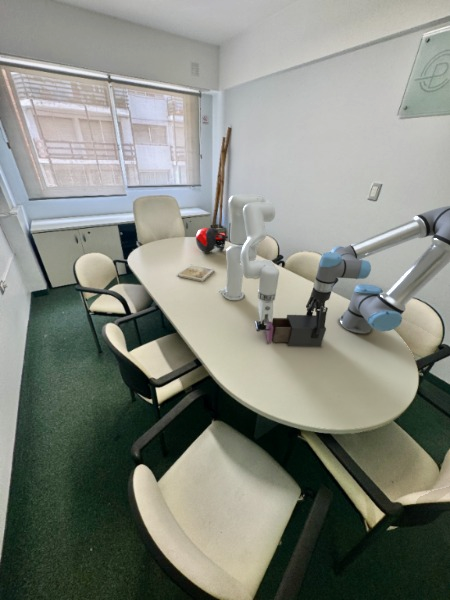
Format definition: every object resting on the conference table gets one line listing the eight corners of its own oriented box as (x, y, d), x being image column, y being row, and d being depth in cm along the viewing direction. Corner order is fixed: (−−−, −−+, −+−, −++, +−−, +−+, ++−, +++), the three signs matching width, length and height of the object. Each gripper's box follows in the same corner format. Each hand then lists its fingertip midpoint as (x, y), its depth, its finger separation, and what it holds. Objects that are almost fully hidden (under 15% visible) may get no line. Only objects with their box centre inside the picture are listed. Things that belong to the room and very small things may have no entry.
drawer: (255, 343, 111) (257, 328, 107) (253, 330, 119) (254, 316, 115) (298, 343, 112) (301, 329, 108) (293, 331, 120) (296, 317, 116)
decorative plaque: (214, 269, 180) (202, 279, 164) (214, 270, 180) (202, 281, 164) (190, 264, 186) (177, 274, 170) (191, 266, 187) (177, 276, 171)
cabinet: (288, 345, 112) (292, 328, 107) (283, 331, 121) (287, 314, 115) (320, 346, 112) (326, 328, 107) (313, 332, 121) (318, 315, 116)
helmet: (226, 221, 211) (196, 223, 199) (233, 244, 208) (203, 247, 196) (218, 233, 228) (190, 235, 216) (225, 253, 225) (197, 257, 213)
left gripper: (279, 304, 97) (273, 339, 106) (272, 286, 110) (267, 319, 119) (260, 303, 97) (256, 339, 106) (255, 286, 110) (252, 319, 119)
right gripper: (342, 303, 93) (327, 346, 104) (321, 277, 112) (310, 316, 124) (323, 303, 92) (310, 346, 104) (305, 276, 112) (296, 315, 124)
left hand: (261, 328), depth 113 cm, fingers closed
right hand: (310, 330), depth 114 cm, fingers closed on cabinet, 10 cm apart
